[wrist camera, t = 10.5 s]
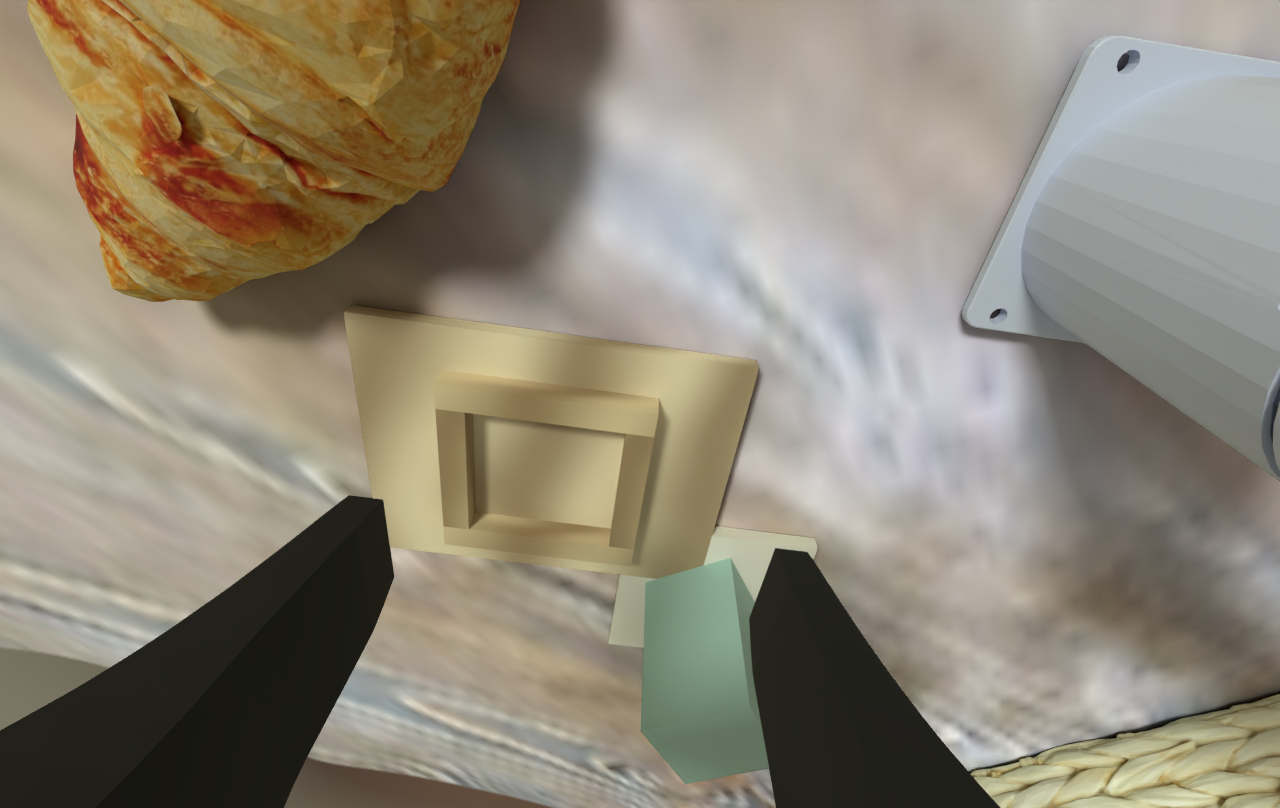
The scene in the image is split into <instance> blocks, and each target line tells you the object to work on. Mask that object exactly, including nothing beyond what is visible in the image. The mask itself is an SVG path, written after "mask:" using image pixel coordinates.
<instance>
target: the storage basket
mask: <svg viewBox="0 0 1280 808" xmlns="http://www.w3.org/2000/svg"><path fill="white" fill-rule="evenodd" d="M1116 737H1117V738H1115V739H1095V740H1089V741H1083V742H1078V743H1073V744H1068V745H1063V746H1058V747H1054V748H1052V749H1050V750H1047V751H1045V752H1043V753H1041V754H1039V755H1038V756H1036V757H1034V758H1032V757H1026V758H1023V759H1020V761H1019V762H1017V763H1013V764H1009V765H1005V766H1000V767H995V768H987V769H981V770H976V771H973V772H972V773H971V775H972V776H973V778H974V779H975V780H976V781H977V782H978V783H979V785H980V786H981V787H982V788H983V789H984V790H985V791H986V792H987V793H988V795H989V796H990V797H991V798H992V799H993V800H994V801H995V802H996V803H997V804H998V805H999V806H1000V808H1280V694H1278V695H1275V696H1271V697H1268V698H1265V699H1262V700H1259V701H1256V702H1253V703H1249V704H1241V705H1235V706H1232V707H1231V708H1230V709H1227V710H1221V711H1216V712H1211V713H1207V714H1202V715H1197V716H1192V717H1186V718H1181V719H1178V720H1176V721H1173V722H1171V723H1169V724H1167V725H1165V726H1163V727H1160V728H1156V729H1153V728H1152V730H1148V731H1144V732H1139V733H1126V734H1118V735H1117V736H1116Z"/></svg>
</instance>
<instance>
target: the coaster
mask: <svg viewBox="0 0 1280 808" xmlns="http://www.w3.org/2000/svg"><path fill="white" fill-rule="evenodd" d="M775 548H780V549H788V550H796V551H804V552H808V553H809V555H810V556H811V557H812V559H814V557H815V554H816V552H817V550H818V548H817V545H816V541H815V538H807V537H799V536H791V535H783V534H775V533H767V532H759V531H751V530H743V529H735V528H727V527H719V526H715V527H714V531H713V534H712V538H711V541H710V545H709V548H708V552H707V555H706V559H705V562H704V565H707V564H710V563H714V562H717V561H721V560H724V559H727V558H731V559H732V561H733V563H734V565H735V567H736V569H737V570H738V572H739V574H740V576H741V578H742V580H743V581H744V583H745V585H746V587H747V589H748V591H749V592H750V594H751V596H752V598H753V600H754V602H755V601H756V598H757V596H758V593H759V590H760V588H761V585H762V582H763V580H764V577H765V574H766V572H767V569H768V566H769V563H770V561H771V558H772V555H773V553H774V550H775ZM652 580H656V579H653V578H645V577H636V576H628V575H619V579H618V585H617V591H616V597H615V603H614V609H613V615H612V621H611V627H610V632H609V643H608V644H614V645H623V646H632V647H640V648H643V647H644V616H645V586H646V582H649V581H652Z"/></svg>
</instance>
